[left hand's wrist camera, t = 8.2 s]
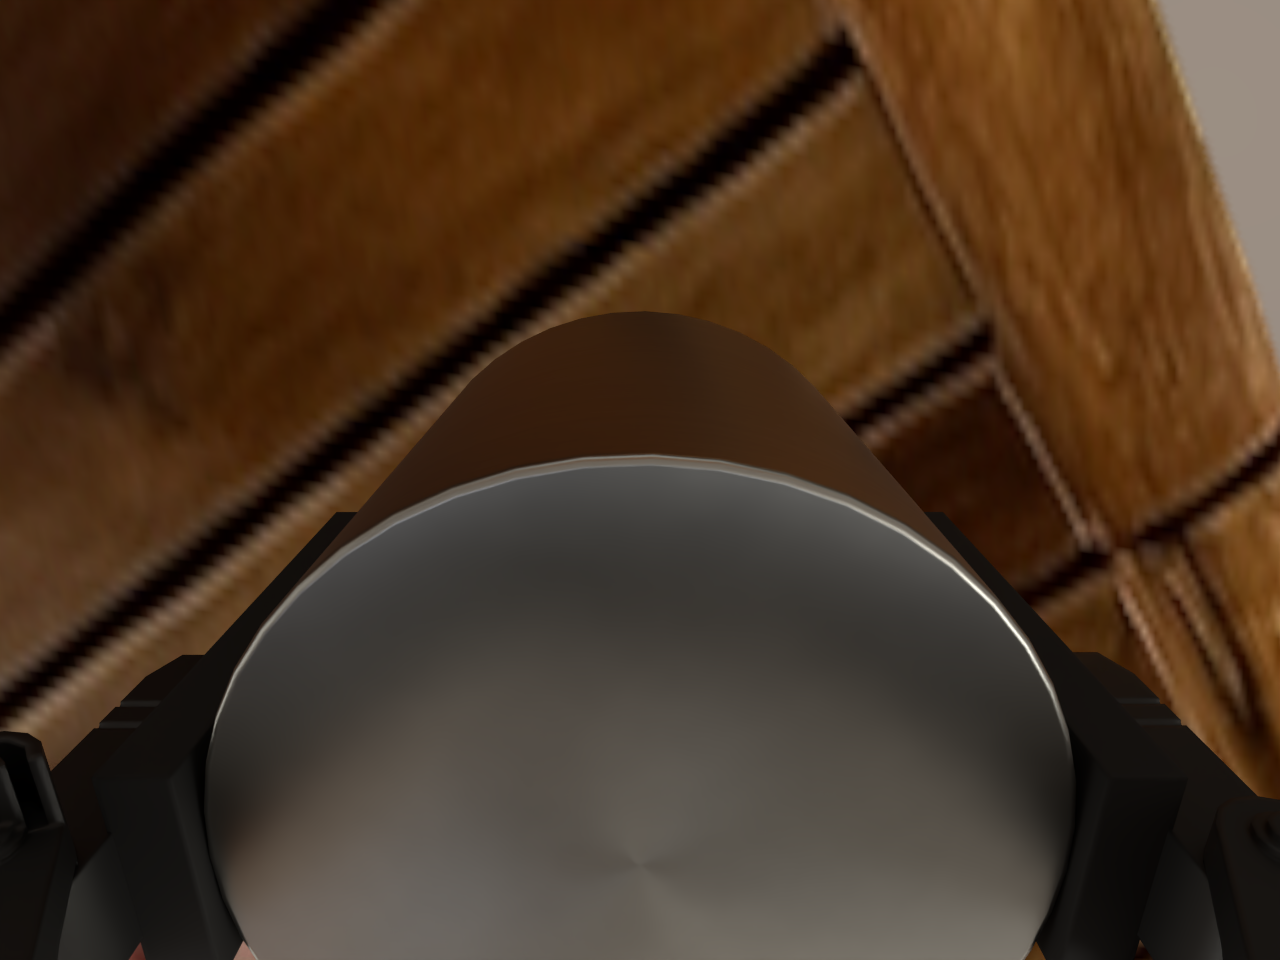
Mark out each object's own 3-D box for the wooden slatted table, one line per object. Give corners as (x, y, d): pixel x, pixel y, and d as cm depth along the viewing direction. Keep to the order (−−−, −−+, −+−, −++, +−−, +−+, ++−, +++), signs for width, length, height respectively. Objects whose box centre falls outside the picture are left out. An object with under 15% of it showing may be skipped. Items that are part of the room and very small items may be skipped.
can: (696, 206, 14) (768, 231, 6) (945, 579, 16) (1220, 934, 8) (320, 491, 15) (9, 790, 8) (597, 787, 18) (566, 1231, 10)
